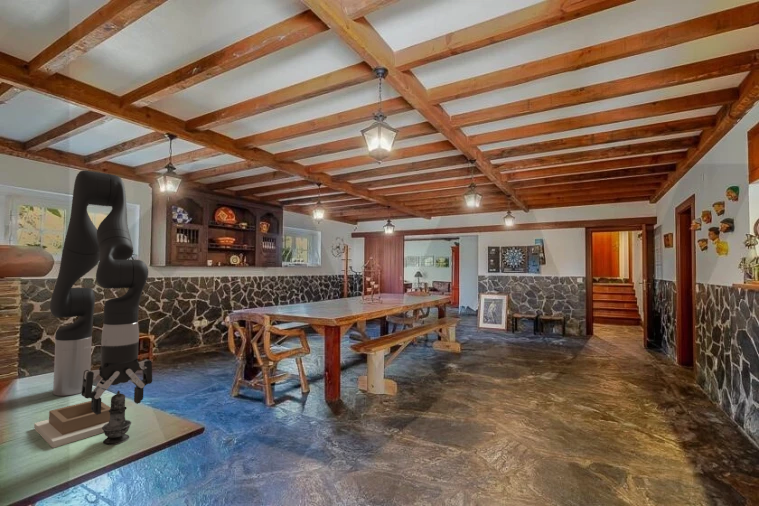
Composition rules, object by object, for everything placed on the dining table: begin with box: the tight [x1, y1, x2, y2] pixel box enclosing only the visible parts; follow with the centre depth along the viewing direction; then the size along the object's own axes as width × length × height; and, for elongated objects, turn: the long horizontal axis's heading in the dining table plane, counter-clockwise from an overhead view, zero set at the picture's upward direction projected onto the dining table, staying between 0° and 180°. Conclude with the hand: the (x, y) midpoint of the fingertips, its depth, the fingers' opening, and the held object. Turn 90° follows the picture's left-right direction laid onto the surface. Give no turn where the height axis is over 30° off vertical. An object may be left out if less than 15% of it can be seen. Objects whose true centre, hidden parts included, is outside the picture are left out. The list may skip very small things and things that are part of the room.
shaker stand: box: [33, 400, 111, 449], centre depth 98 cm, size 15×15×4 cm
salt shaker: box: [102, 390, 132, 446], centre depth 92 cm, size 6×6×12 cm
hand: (117, 407), depth 92 cm, fingers open, 8 cm apart
